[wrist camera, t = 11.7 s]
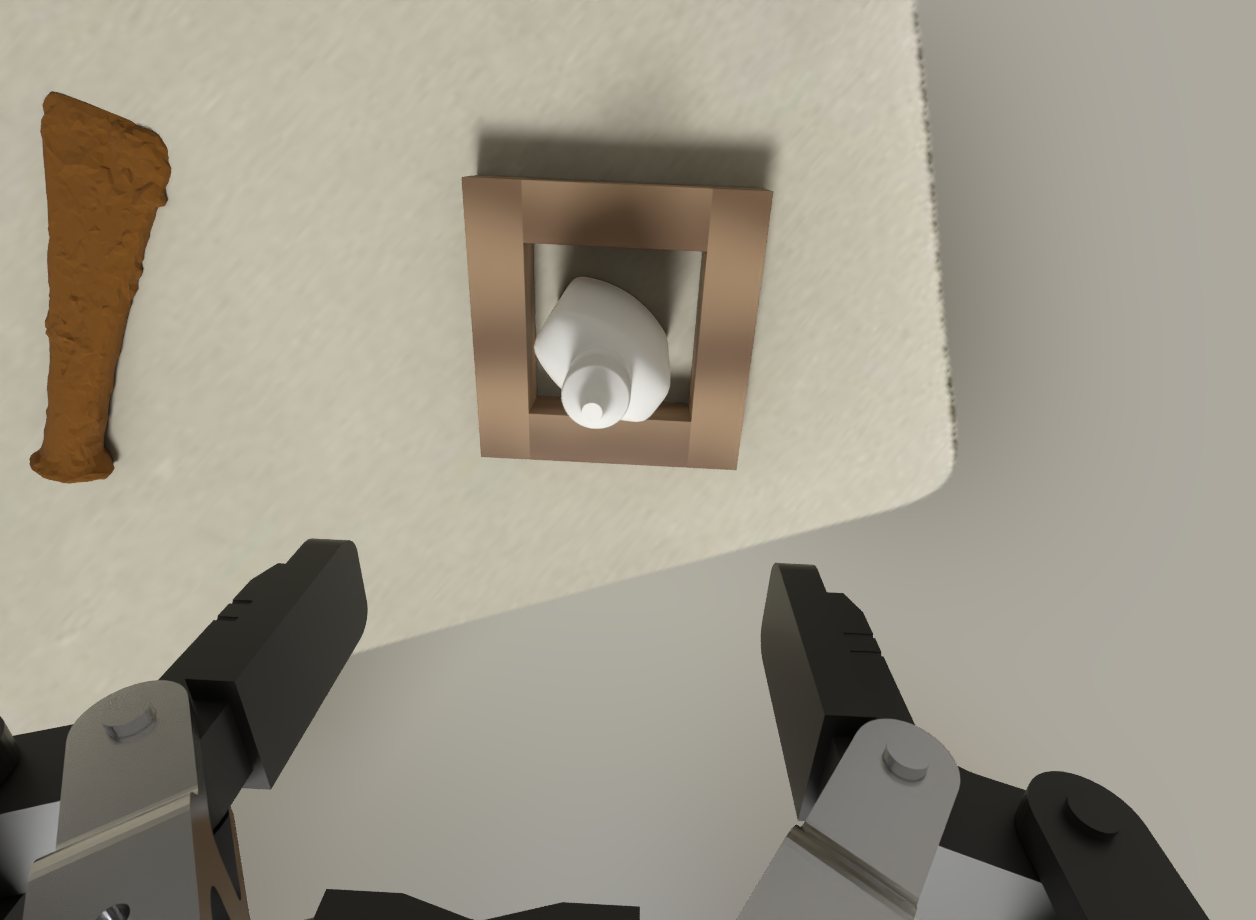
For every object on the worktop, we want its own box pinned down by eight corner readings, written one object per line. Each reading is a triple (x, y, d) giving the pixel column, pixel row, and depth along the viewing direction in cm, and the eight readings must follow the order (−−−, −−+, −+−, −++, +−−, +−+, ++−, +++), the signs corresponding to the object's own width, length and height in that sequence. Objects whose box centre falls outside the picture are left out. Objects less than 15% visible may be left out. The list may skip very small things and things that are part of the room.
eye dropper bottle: (599, 389, 33) (574, 505, 22) (547, 291, 30) (489, 365, 20) (676, 354, 32) (688, 457, 21) (627, 250, 29) (613, 305, 19)
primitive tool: (52, 87, 28) (-23, 79, 24) (180, 137, 28) (122, 135, 25) (64, 450, 36) (8, 479, 33) (163, 481, 37) (118, 512, 33)
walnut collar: (476, 175, 28) (461, 177, 26) (763, 188, 28) (773, 191, 26) (492, 436, 34) (481, 456, 32) (730, 449, 34) (736, 470, 32)
